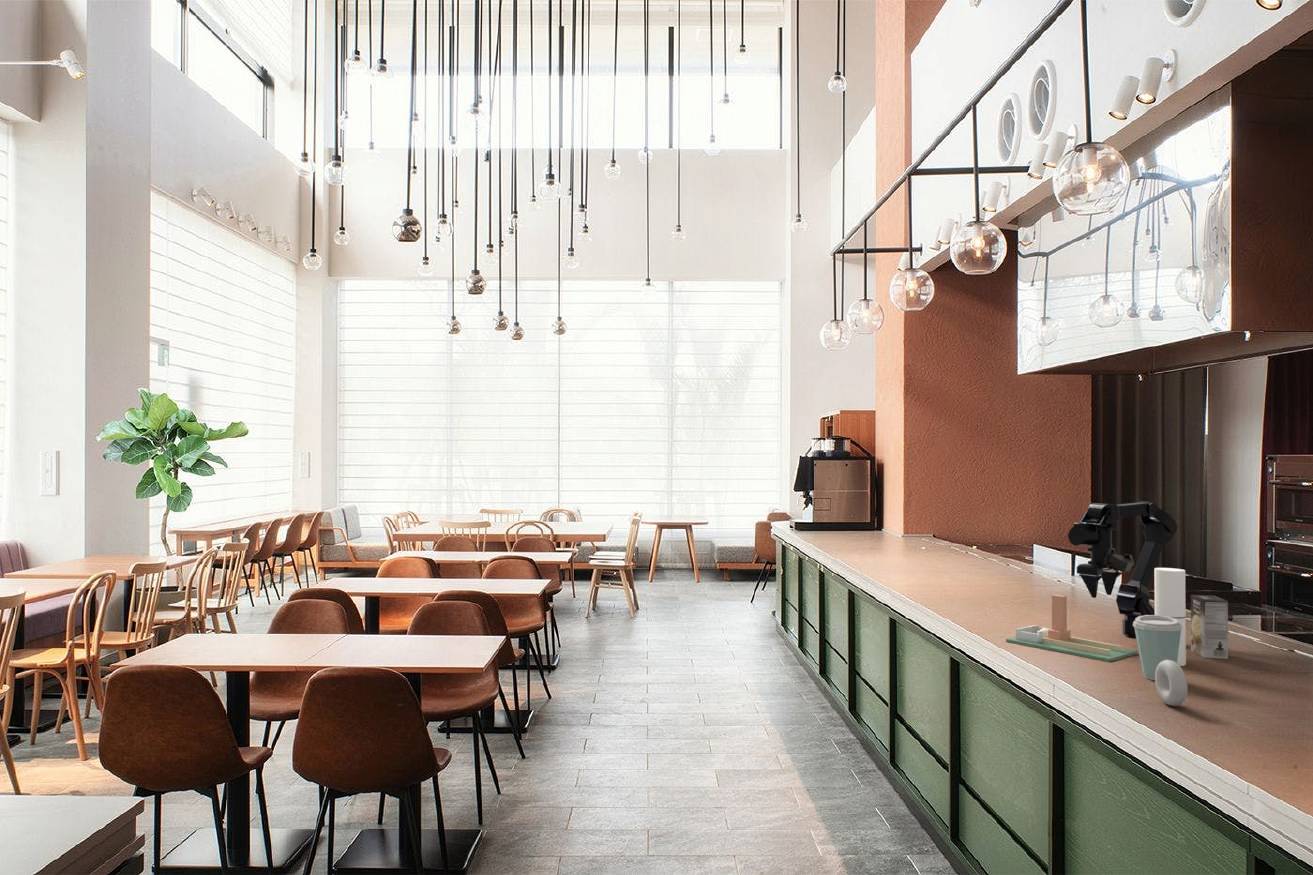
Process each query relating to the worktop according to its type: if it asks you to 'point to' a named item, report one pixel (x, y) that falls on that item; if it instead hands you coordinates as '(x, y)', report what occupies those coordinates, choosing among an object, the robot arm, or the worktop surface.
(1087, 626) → the worktop surface
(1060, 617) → the player
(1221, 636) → the coffee box
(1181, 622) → the cylindrical container
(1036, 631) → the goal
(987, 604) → the worktop surface
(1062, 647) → the board
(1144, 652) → the disposable coffee cup
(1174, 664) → the donut
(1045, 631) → the ball
